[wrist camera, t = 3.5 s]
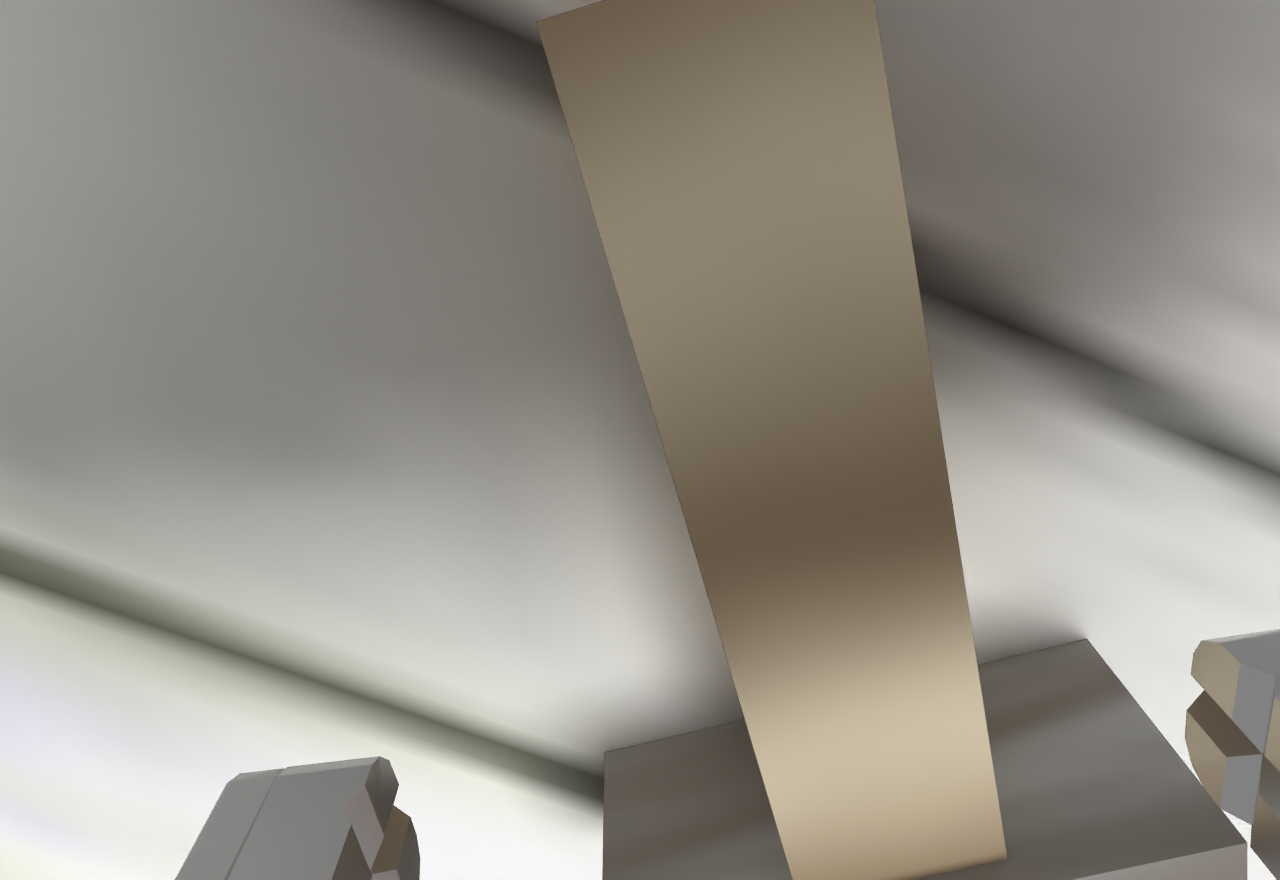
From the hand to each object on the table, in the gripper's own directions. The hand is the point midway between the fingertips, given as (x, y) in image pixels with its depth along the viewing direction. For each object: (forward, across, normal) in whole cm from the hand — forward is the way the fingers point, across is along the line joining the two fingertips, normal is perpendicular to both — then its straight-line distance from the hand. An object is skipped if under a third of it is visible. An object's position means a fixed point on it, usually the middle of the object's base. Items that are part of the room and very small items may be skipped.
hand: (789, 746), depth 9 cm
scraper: (+6, -1, 0) cm, 6 cm away
